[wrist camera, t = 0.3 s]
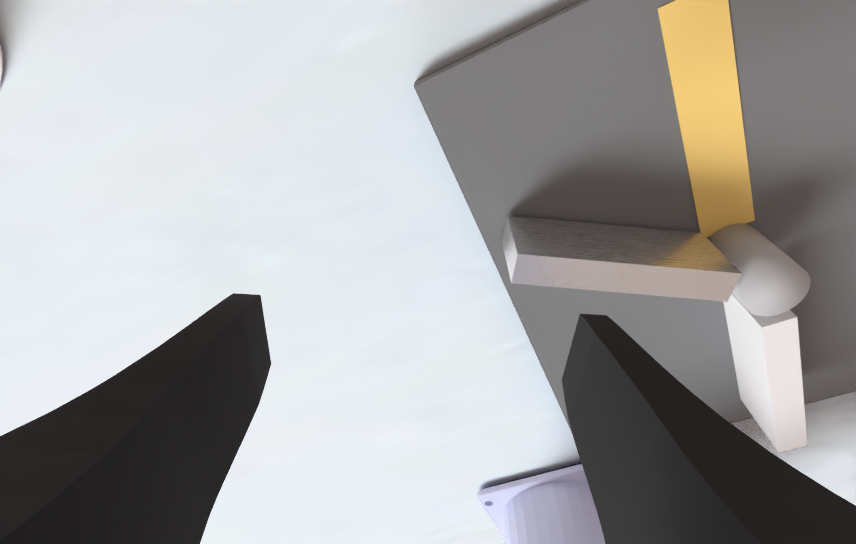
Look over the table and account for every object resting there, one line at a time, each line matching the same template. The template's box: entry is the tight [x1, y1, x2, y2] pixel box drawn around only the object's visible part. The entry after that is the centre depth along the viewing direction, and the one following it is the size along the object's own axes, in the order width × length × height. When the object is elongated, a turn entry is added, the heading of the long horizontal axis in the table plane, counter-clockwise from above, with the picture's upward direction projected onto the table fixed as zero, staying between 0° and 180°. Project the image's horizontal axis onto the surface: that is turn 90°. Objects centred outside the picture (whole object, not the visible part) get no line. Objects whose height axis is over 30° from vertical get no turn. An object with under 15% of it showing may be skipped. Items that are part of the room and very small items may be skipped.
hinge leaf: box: [502, 216, 742, 302], centre depth 18 cm, size 8×1×3 cm, turn 85°
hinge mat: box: [414, 0, 856, 453], centre depth 19 cm, size 22×16×4 cm
